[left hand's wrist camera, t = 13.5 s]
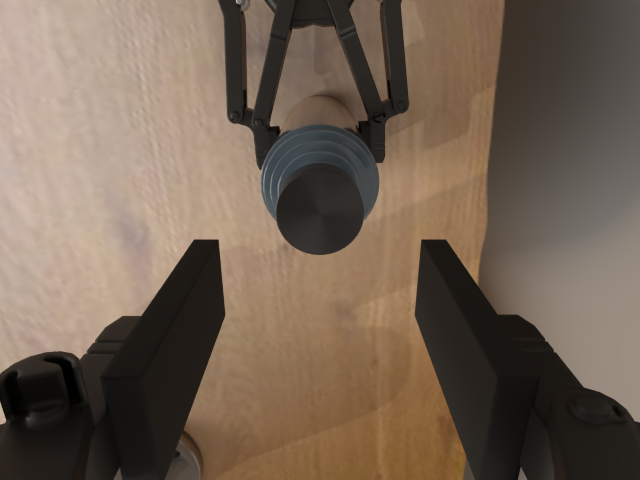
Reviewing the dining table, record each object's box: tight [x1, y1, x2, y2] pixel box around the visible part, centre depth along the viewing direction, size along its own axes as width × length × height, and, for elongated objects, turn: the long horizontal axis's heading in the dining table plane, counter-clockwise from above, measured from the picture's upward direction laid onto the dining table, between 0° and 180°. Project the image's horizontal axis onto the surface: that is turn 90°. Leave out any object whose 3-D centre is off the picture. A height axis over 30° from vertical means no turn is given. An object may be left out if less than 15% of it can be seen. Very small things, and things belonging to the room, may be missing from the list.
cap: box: [275, 163, 364, 255], centre depth 21 cm, size 4×4×2 cm
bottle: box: [260, 96, 379, 221], centre depth 32 cm, size 7×7×24 cm
